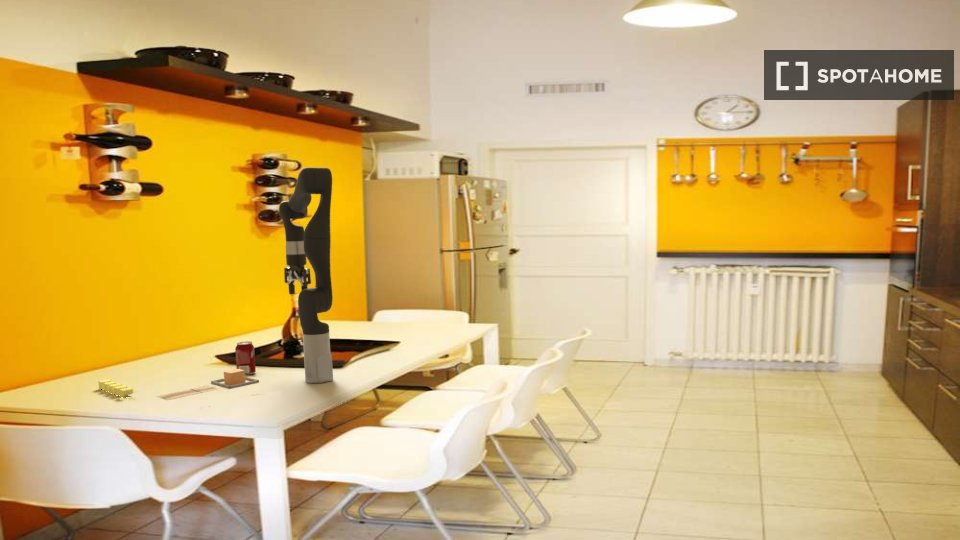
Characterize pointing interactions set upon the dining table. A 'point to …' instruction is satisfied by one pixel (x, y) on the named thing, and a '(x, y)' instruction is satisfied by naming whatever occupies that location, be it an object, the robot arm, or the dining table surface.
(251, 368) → the soda can
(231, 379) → the block
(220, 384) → the tray
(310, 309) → the robot arm
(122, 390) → the yellow flower cubes
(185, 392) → the wooden board
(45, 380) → the dining table surface
